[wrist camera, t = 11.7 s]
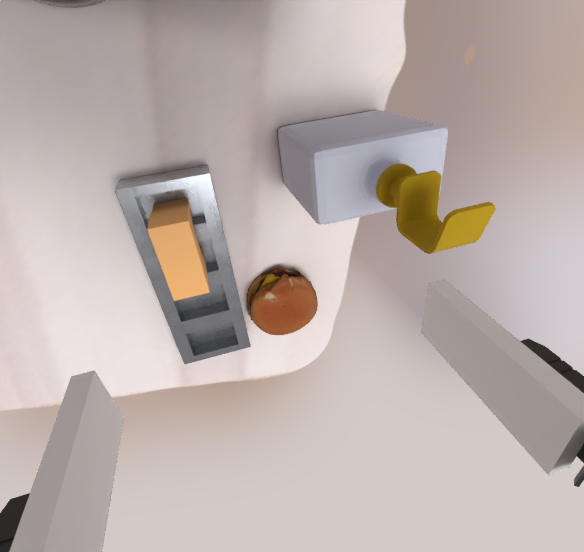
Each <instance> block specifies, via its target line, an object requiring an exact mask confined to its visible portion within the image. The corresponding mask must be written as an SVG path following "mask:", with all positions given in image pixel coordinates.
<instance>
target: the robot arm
mask: <svg viewBox="0 0 584 552" xmlns="http://www.w3.org/2000/svg"><path fill="white" fill-rule="evenodd" d="M36 1H38V2H42V3H45V4H49V5H54V6H60V7H84V6H90V5H94V4H97V3H100V2H102V1H105V0H36ZM421 333H422V334H423V335H424V336H425V337H426V338H427V340H428V341H429V342H430V343H431V344H432V345H433V346H434V347H435V349H436V350H437V351H438V352H439V353H440V354H441V355H442V356H443V357H444V358H445V360H446V361H447V362H448V363H449V364H450V365H451V366H452V368H453V369H454V370H455V371H456V372H457V373H458V374H459V375H460V377H461V378H462V379H463V380H464V381H465V382H466V383H467V384H468V385H469V387H470V388H471V389H472V390H473V391H474V392H475V393H476V394H477V396H478V397H479V398H480V399H481V400H482V401H483V402H484V404H485V405H486V406H487V407H488V408H489V409H490V410H491V411H492V412H493V414H494V415H495V416H496V417H497V418H498V419H499V420H500V421H501V422H502V424H503V425H504V426H505V427H506V428H507V429H508V430H509V431H510V433H511V434H512V435H513V436H514V437H515V438H516V439H517V440H518V442H519V443H520V444H521V445H522V446H523V447H524V448H525V450H526V451H527V452H528V453H529V454H530V455H531V456H532V457H533V458H534V460H535V461H536V462H537V463H538V464H539V465H540V466H541V468H542V469H543V470H544V471H545V472H546V473H547V474H548V475H550V474H553V473H555V472H558V471H560V470H563V469H565V468H568V467H570V465H571V464H572V462H573V461H574V459H575V458H576V456H577V457H578V458H579V459H580V460H581V461H582V462H583V463H584V376H583V375H581V374H580V373H579V372H577V371H576V370H573V369H572V367H571V366H570V365H568V364H567V363H566V362H565V361H561V359H560V358H559V357H558V356H557V355H556V354H554V353H553V352H552V351H550V350H549V349H548V348H546V347H545V346H543V345H541V344H538V343H536V342H534V341H532V340H530V339H526V340H523V341H519V340H518V339H517V338H516V337H514V336H513V335H512V334H511V333H510V332H508V331H507V330H506V329H505V328H503V327H502V326H501V325H500V324H498V323H497V322H496V321H495V320H494V319H492V318H491V317H490V316H489V315H488V314H486V313H485V312H484V311H483V310H481V309H480V308H479V307H478V306H477V305H475V304H474V303H473V302H472V301H470V300H469V299H468V298H467V297H466V296H464V295H463V294H462V293H461V292H460V291H458V290H457V289H456V288H455V287H453V286H452V285H451V284H450V283H449V282H447V281H446V280H445V279H444V280H440V281H436V282H432V283H429V284H428V289H427V297H426V303H425V310H424V317H423V324H422V332H421ZM123 421H124V417H123V415H122V414H121V412H120V411H119V409H118V407H117V406H116V404H115V402H114V401H113V399H112V398H111V396H110V394H109V393H108V391H107V390H106V388H105V386H104V385H103V383H102V382H101V380H100V378H99V377H98V375H97V374H96V372H95V371H91V372H87V373H83V374H79V375H76V376H72V377H71V379H70V382H69V385H68V387H67V390H66V393H65V396H64V399H63V402H62V404H61V407H60V410H59V413H58V416H57V418H56V422H55V424H54V427H53V430H52V433H51V435H50V438H49V441H48V444H47V447H46V450H45V452H44V455H43V458H42V461H41V464H40V466H39V469H38V472H37V475H36V478H35V481H34V483H33V486H32V489H31V492H30V493H29V494H26V495H23V496H19V497H16V498H13V499H10V501H9V502H8V503H7V505H6V506H5V508H4V509H3V510H2V512H1V513H0V552H102V548H103V542H104V536H105V530H106V524H107V518H108V512H109V506H110V500H111V494H112V488H113V481H114V475H115V469H116V463H117V457H118V451H119V445H120V439H121V433H122V427H123ZM583 480H584V466H583V467H582V469H581V470H580V472H579V473H578V475H577V476H576V477H575V480H574V485H575V486H577V487H579V486H580V484H581V483H582V481H583Z"/></svg>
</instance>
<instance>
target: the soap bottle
mask: <svg viewBox="0 0 584 552" xmlns="http://www.w3.org/2000/svg"><path fill="white" fill-rule="evenodd" d="M447 137H448V131H447V128H446V127H444V126H442V125H437V124H434V123H429V122H425V121H421V120H417V119H412V118H408V117H404V116H400V115H396V114H392V113H387V112H383V111H378V110H374V111H368V112H362V113H357V114H351V115H345V116H339V117H333V118H328V119H322V120H316V121H310V122H304V123H299V124H293V125H287V126H284V127H282V128H279V129H278V140H279V148H280V156H281V164H282V172H283V180H284V184H285V186H286V187H287V188H288V189H289V191H290V192H291V193H292V194H293V195H294V197H295V198H296V199H297V200H298V201H299V202H300V204H301V205H302V206H303V207H304V208H305V210H306V211H307V212H308V213H309V214H310V215H311V217H312V218H313V219H314V220H315V221H316V223H318V224H330V223H334V222H339V221H343V220H347V219H352V218H356V217H361V216H365V215H370V214H374V213H378V212H383V211H387V210H392V209H396V208H397V218H396V220H397V227H398V230H399V231H400V233H401V234H402V235H403V236H404V237H406V238H407V239H408V240H410V241H411V242H412V243H414V244H415V245H416V246H417V247H419V248H420V249H421V250H423V251H424V252H425V253H428V254H431V253H435V252H438V251H442V250H446V249H450V248H454V247H458V246H462V245H466V244H470V243H474V242H476V241H477V240H478V239H479V238H480V237H481V234H482V233H483V231H484V229H485V227H486V226H487V224H488V222H489V220H490V218H491V216H492V214H493V213H494V211H495V206H494V205H493V204H492V203H490V202H487V203H482V204H478V205H474V206H469V207H465V208H461V209H457V210H454V211H452V212H450V213H449V214H448V215H447V216H446V217H445V219H444V221H443V223H442V222H441V221H440V220H439V218H438V216H437V207H438V199H439V194H440V189H441V181H442V174H443V167H444V159H445V152H446V144H447Z"/></svg>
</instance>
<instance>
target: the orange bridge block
mask: <svg viewBox="0 0 584 552" xmlns="http://www.w3.org/2000/svg"><path fill="white" fill-rule="evenodd" d="M147 230H148V233H149V236H150V238H151V241H152V244H153V246H154V249H155V252H156V254H157V257H158V260H159V262H160V265H161V268H162V270H163V273H164V276H165V278H166V281H167V284H168V286H169V289H170V292H171V294H172V297H173V300H174V301H176V300H181V299H185V298H189V297H193V296H197V295H201V294H206V293H210V291H209V283H208V275H207V269H206V260H205V256H204V252H203V249H202V247H200V246H199V243H198V239H197V236H196V232H195V229H194V225H193V221H192V211H191V207H190V204H189V200H188V198H185V199H180V200H175V201H169V202H164V203H159V204H154V205H153V209H152V213H150V218H149V223H148V227H147Z"/></svg>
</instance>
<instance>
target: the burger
mask: <svg viewBox="0 0 584 552" xmlns="http://www.w3.org/2000/svg"><path fill="white" fill-rule="evenodd" d="M248 291H249V293H248V294H247V302H248V314H249V315H250V317H251V320H253V321H254V323H255V324H256V325H257V326H258V327H259V328H260V329H261V330H263V331H264V332H266V333H269V334H272V335H284V334H289V333H293V332H295V331H297V330H299V329H301V328H302V327H304V326H305V325H306V324H308V323H309V322H310V321H311V319H312V318H313V317H314V315H315V314H316V311H317V306H318V304H317V296H316V292H315V290H314V288H313V286H312V284H311V282H310V281H308V280H307V279H306V278H305V277H304V276H303V275H301V274H300V272H298V271H296V270H295V271H293V272H292V271H290V270H287V269H284V268H278V269H276V270H274V271H271V272H269V273H268V274H266V275H260V276H259V277H257V278H256V279H255V280H254V281H253V283H252V284H251V286H250V288H249V290H248Z"/></svg>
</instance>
